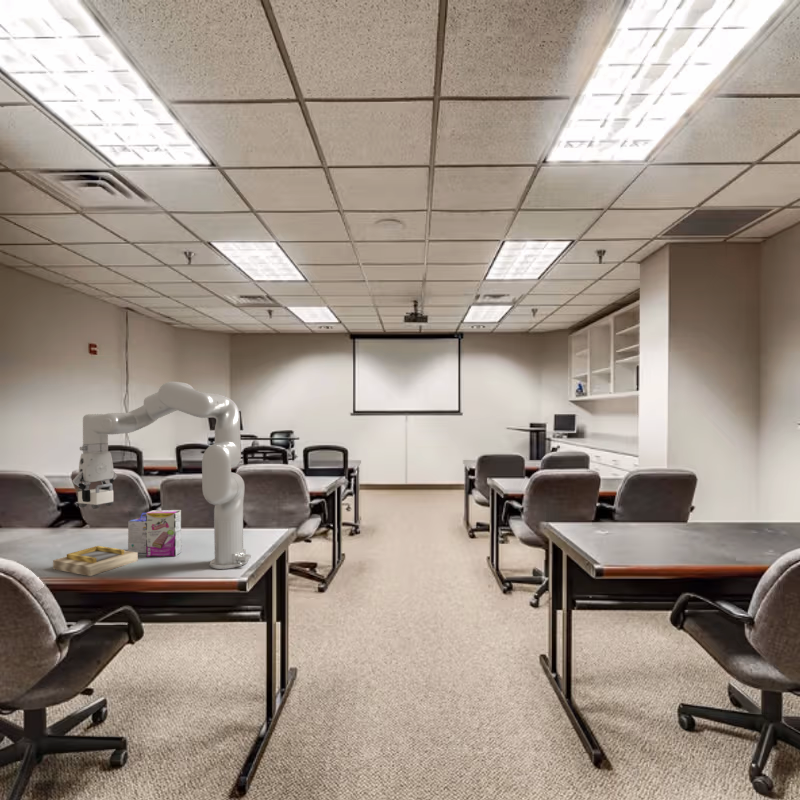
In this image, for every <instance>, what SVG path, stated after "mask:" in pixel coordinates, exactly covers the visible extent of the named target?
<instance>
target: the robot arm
mask: <svg viewBox="0 0 800 800" xmlns="http://www.w3.org/2000/svg"><path fill="white" fill-rule="evenodd" d="M239 409H240V408H239V407H238V405H237V404H236V403H235V401H233V400H232V399H231V398H230V397H229V396H228V397H227V396H226V395H223V394H221V393H214V392H213V393H212V392H211V393H210V392H209V393H208V392H202V391H199V390H198V389H194V387H193V386H192V385H191V384H189V383H186V382H183V381H181V382H180V381H167V382H165V383H163V384H162V385H161V386H159V389H158V391H157V392H155V393H153V394H151V395H148V396H146V397H144V399H143V405H141V406H140V407H139V406H138V408H135V409H132V410H130V411H128V412H110V413H109V412H108V413H92V414H90V413H89V414H85V415H83V417H82V445H81V446H80V447H79V451H82V453H81V454H80V458H79V463H78V473H77V475H76V476H75V477H74V478H73V479H72V483H73V484H74V485H76V487H77V488H78V489H79V490H80V491H82V499H83V502H90V490H91V489H90V486H91V483H95V482H101V485H104V484H110V483H111V484H112V485H113V483H114V481H115V480H116V479H117V478H118V477H119V476H118V474H117V473H116V472H115V471H114V463H113V458H112V457H113V456H112V453H111V451H109V435H112V436H113V435H121V434H131V433H134V432H136V431H139V430H141V429H143V428H145V427H148V426H150V425H151V424H153V423H154V422H156V421H157V420H159V419H160V418H163V417H164V416H167V415H169V414H172V413H174V412H176V411H179V412H181V413H185V414H187V415H190V416H193V417H196V418H201V419H206V418H214V419H215V427H214V443H213V444H211V445H209V446H208V447H207V448H206V449H205V450H204V452H203V455H202V459H201V461H202V462H201V472H202V473H201V476H202V477H201V479H202V483H201V485H202V487H201V488H202V495H203V497H204V499H205V501H206V502H207V503H209V504H210V505H212V506H214V509H213V513H214V514H213V520H214V521H213V525H214V526H213V527H214V528H213V529H214V530H213V532H214V533H213V534H214V542H213V543H214V544H213V545H214V558H213V559H211V560H210V562H209V566H210V568H212V569H216V570H225V569H227V570H228V569H234V568H238V567H242V566H243V565H246V564H247V563H248V562H249V560H250V559H251V558H252V555H251V554H249V553H246V550H247V549H244V499H245V489H246V488H245V481H244V479H243V478H242V476H241V475H240V474H238V473H236V472H232V468H235V467H237V466H238V465H239V464H240V462H241V459H242V458H241V457H242V448H241V445H242V444H241V443H242V442H241V413H240V410H239ZM100 489H102V490H109V487H103V488H100Z"/></svg>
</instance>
